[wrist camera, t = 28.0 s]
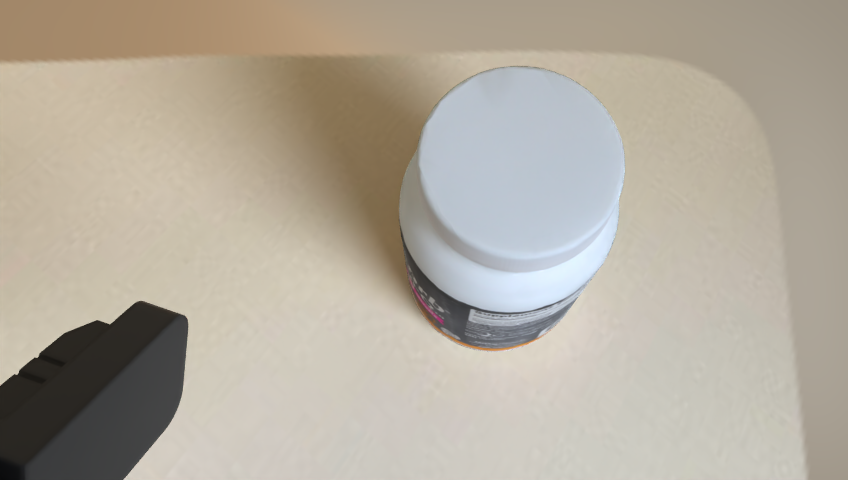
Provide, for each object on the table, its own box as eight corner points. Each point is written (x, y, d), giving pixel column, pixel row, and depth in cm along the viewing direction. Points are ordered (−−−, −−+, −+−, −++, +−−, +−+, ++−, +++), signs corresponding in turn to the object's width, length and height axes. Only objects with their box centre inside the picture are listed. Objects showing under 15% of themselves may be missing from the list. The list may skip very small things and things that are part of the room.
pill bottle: (389, 218, 28) (362, 77, 18) (546, 176, 28) (599, 16, 19) (434, 376, 26) (428, 311, 17) (600, 329, 26) (688, 239, 17)
